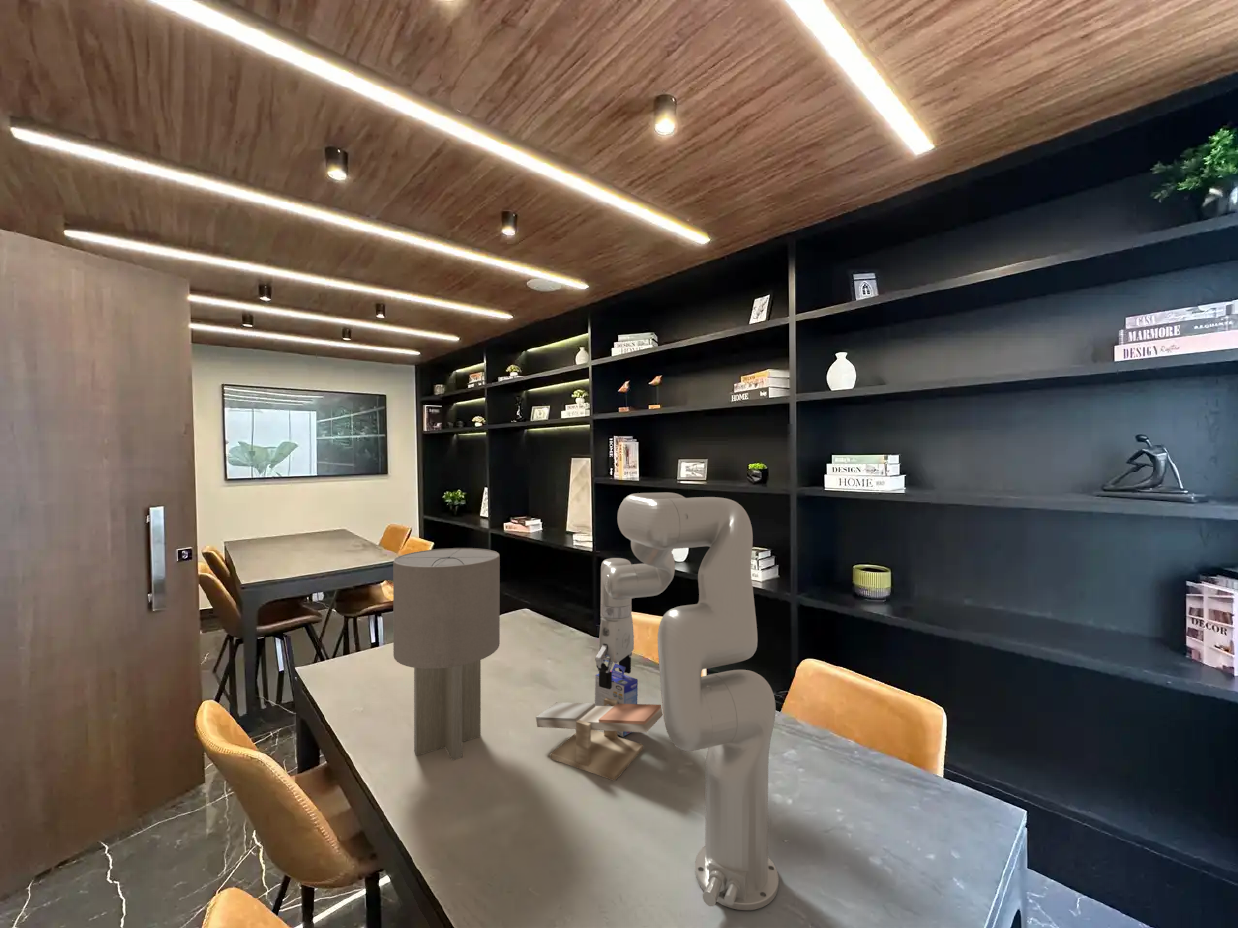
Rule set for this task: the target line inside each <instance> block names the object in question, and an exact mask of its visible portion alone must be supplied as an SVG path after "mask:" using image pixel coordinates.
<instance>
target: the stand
mask: <svg viewBox="0 0 1238 928" xmlns="http://www.w3.org/2000/svg"><path fill="white" fill-rule="evenodd" d="M607 704H609V705H611V706H615V705H616V704H617V700H614V699H610V698H605V699H604V706H606V705H607ZM642 751H644V744H643V743H640V742H639V743H638V742H636V741H633V740H629V739H627V738H626V739H625V738H624V737H621V736H620V737H619V736H618V734H617V731H605V730H603V732H602V731H601V730H591V723H588V722H585V721H581V720H578V721H577V722H576V729H575V733H573V734H572V735H571V736H570V737H569V738H567V739H566V740H565V741H564V742H563V743H562V744H560V745H559V746H558V747H557V748H556V749H555V750H553V751H552V752H551V753H550V760H554V761H556V762H559V763H561V764H566V765H568V766H571V767H574V768H576V769H580V770H582V771H585V772H587V773H591V774H594V775H597V776H600V777H602V778H606V779H608V780H611V781H617V779H618V778H619V777H620V776H621V774H623V772H624V771H625V770H626V769H627V768H628V767H629V766H630V764H631V763H633V762H634V760H635V759H636V758H637V757H638V755H639V754H640V753H641V752H642Z"/></svg>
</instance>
